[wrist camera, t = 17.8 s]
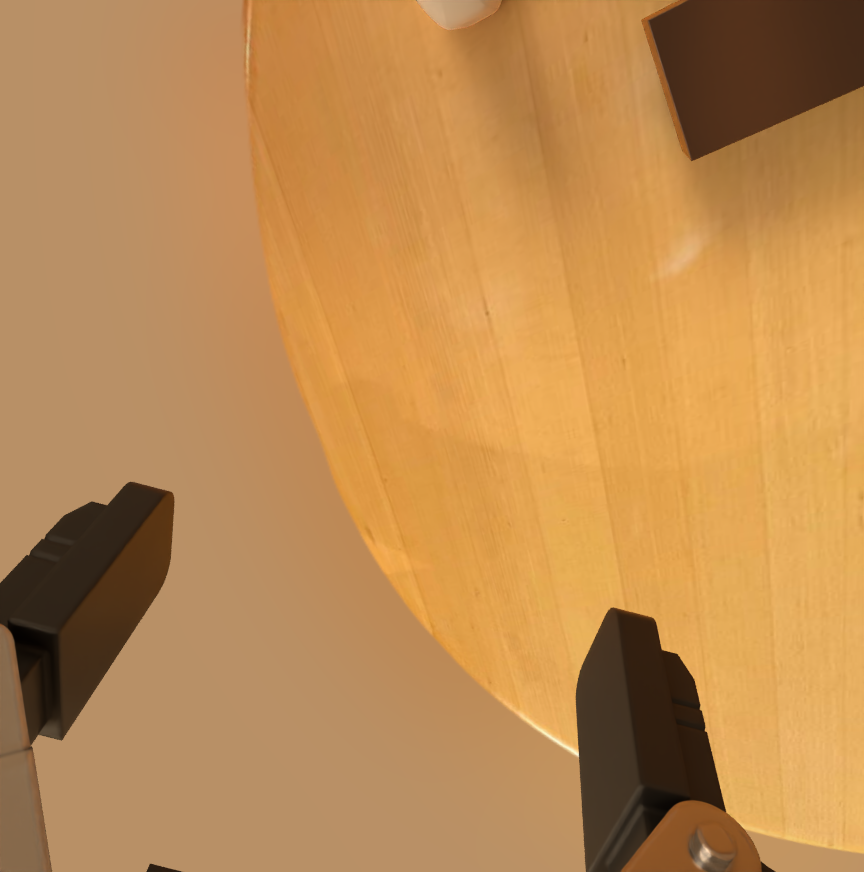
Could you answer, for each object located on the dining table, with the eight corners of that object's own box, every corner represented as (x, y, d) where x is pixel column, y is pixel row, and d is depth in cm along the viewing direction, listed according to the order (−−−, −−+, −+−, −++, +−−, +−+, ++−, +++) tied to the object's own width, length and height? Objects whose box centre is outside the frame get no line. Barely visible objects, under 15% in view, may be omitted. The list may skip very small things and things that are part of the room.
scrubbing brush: (675, 144, 37) (691, 161, 33) (635, 19, 35) (647, 20, 31) (995, 0, 33) (1062, -1, 28) (974, -154, 30) (1044, -181, 26)
